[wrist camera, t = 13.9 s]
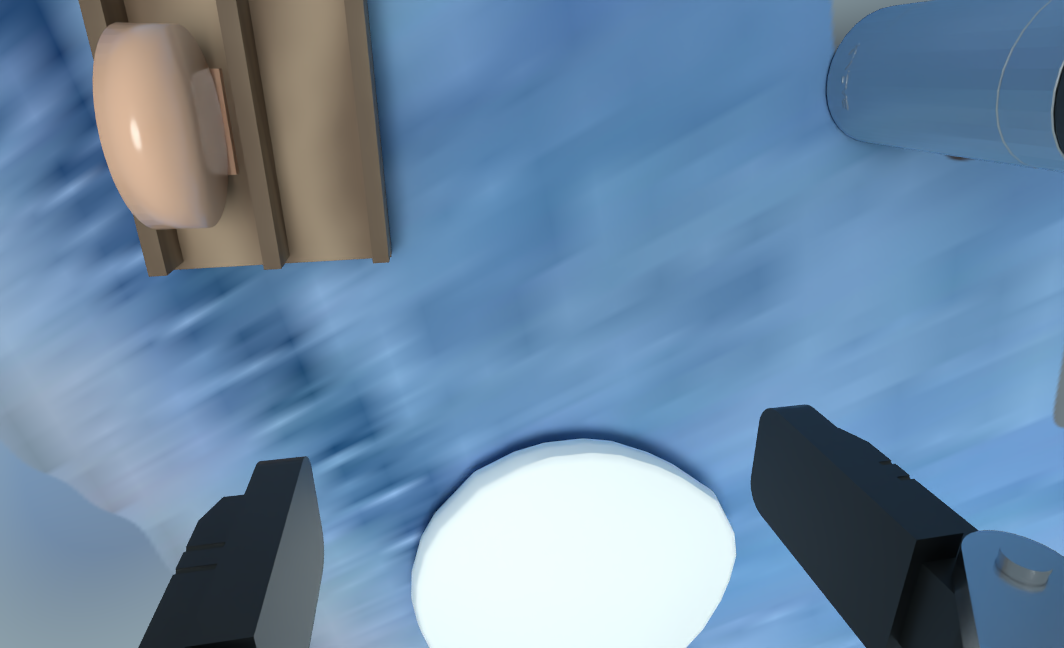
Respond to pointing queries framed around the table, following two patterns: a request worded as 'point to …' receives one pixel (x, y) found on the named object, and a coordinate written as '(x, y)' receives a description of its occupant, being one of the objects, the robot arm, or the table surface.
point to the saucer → (163, 124)
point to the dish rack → (279, 131)
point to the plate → (573, 553)
